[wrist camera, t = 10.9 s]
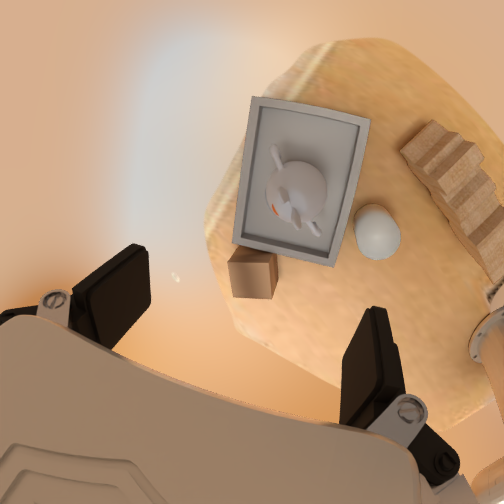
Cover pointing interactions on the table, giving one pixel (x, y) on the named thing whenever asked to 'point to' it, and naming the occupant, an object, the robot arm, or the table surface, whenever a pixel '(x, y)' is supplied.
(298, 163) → the toy figure
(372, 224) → the pale grey egg shape
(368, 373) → the robot arm
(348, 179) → the tray
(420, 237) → the table surface
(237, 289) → the walnut cube
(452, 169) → the stepped wooden block
